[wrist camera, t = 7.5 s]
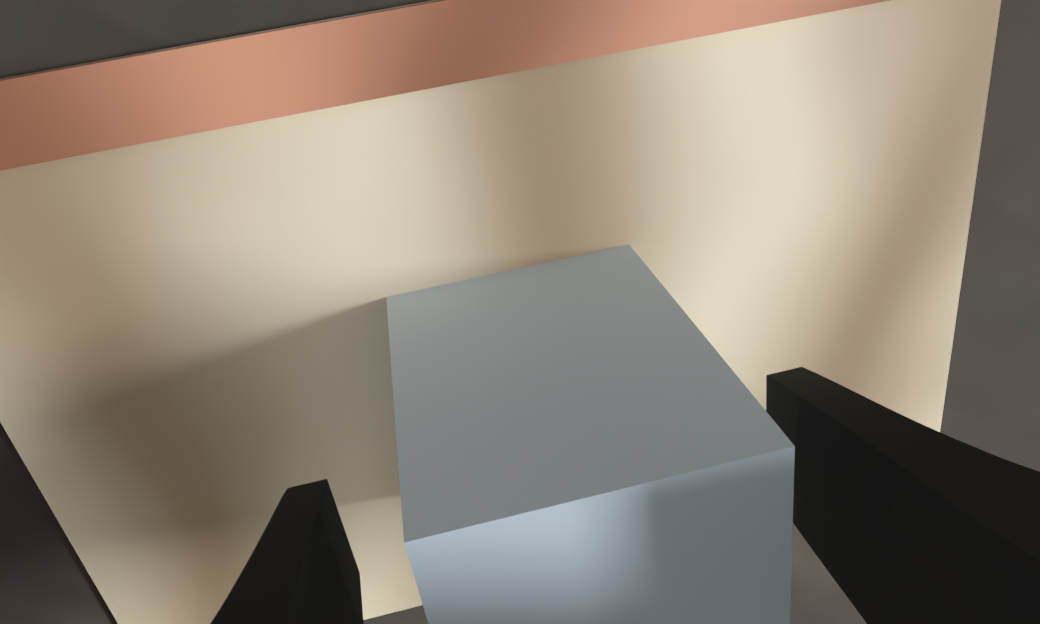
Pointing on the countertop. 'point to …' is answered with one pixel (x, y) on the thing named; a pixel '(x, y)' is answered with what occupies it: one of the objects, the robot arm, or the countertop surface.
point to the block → (583, 455)
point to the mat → (448, 238)
